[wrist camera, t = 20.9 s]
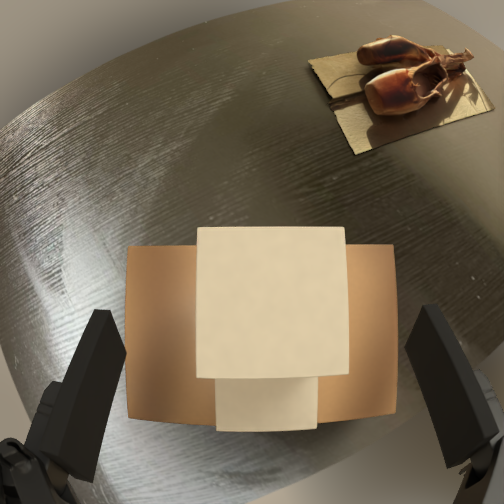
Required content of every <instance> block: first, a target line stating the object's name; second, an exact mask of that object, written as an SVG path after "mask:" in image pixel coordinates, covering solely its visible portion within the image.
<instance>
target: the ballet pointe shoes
mask: <svg viewBox="0 0 504 504" xmlns="http://www.w3.org/2000/svg"><path fill="white" fill-rule="evenodd" d="M472 58H474V56H473V55H472V53H471V52H470V51H469V50H468V49H467V48H465V52H464V53H455V54H453V53H452V52H451V51H450V50H449V49H447V50H446V49H445V48H444V47H443V46H441V45H440V46H434V45H433V46H421V45H418V44H416V43H414V42H412V41H409V40H407V39H405V38H403V37H399V36H392V35H390V36H389V37H387V38H385V39H384V38H378V39H376V41H374V42H372V43H369V44H366V45H363V46H361V47H360V48H359V49H358V51H357V52H352V53H348V54H347V53H345V54H341V55H340V54H339V55H335V56H330V57H327V56H326V57H325V58H320V59H319V58H316V59H315V60H309V63H311V65H313V66H312V68H313V69H315V70H314V71H315V73H317V74H318V77H320V78H319V79H320V80H321V81H322V83H323V84H324V86H326V89H327V91H328V92H329V94H330V95H332V97H333V99H332V100H331V101H330V102H329V103H327V104H329V105H330V108H331V110H332V111H335V112H334V113H335V114H336V116H337V119H338V120H337V121H338V123H339V125H340V126H341V128H342V129H343V130H342V131H343V132H344V134H345V136H346V137H347V140H348V141H349V144H350V146H351V148H353V151H354V153H355V155H356V154H357V153H361V152H364V151H367V150H369V149H370V150H371V149H373V148H377V147H379V146H381V145H384V144H386V143H389V142H393V141H394V140H399V139H401V138H404V137H406V136H408V135H409V136H410V134H412V135H413V134H416V133H418V132H421V131H425V130H429V129H431V128H433V127H435V126H440V125H444V124H445V123H446V122H447V123H450V122H452V121H455V120H457V119H462V118H465V117H466V116H467V117H469V116H472V115H476V114H479V113H481V112H483V113H484V112H485V111H486V112H487V111H489V110H492V109H495V107H494V105H493V104H492V103H491V101H490V99H489V98H488V97H487V95H486V94H485V92H484V91H483V90H482V89H481V88H480V86H479V85H478V84H477V83H476V81H475V80H474V78H473V77H472V76H471V74H470V73H469V72H468V71H467V69H466V68H465V65H464V63H463V62H466V61H469V60H471V59H472Z"/></svg>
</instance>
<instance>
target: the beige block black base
mask: <svg viewBox="0 0 504 504" xmlns="http://www.w3.org/2000/svg"><path fill="white" fill-rule="evenodd" d="M347 374H349V308H348V280H347V261H346V245H345V232H344V227H198V228H197V254H196V378H205V379H215V410H216V431H227V432H266V431H292V430H307V429H316V428H317V410H318V377H322V376H336V375H347Z"/></svg>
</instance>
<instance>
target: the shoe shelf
mask: <svg viewBox="0 0 504 504" xmlns="http://www.w3.org/2000/svg"><path fill="white" fill-rule="evenodd" d="M196 254H197V245H188V246H128V254H127V271H126V295H125V349H126V351H127V355H126V358H125V369H126V392H127V408H128V418H132V419H140V420H148V421H157V422H167V423H179V424H193V425H212V426H216V410H215V379H205V378H196ZM346 261H347V280H348V308H349V374H347V375H336V376H322V377H318V410H317V423H326V422H336V421H345V420H353V419H361V418H368V417H375V416H381V415H387V414H393V413H395V411H396V396H397V371H398V315H397V290H396V274H395V260H394V249H393V245H346Z"/></svg>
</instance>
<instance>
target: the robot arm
mask: <svg viewBox="0 0 504 504" xmlns="http://www.w3.org/2000/svg"><path fill="white" fill-rule="evenodd" d="M404 348H405V350H406V352H407V355H408V357H409V360H410V362H411V365H412V367H413V370H414V373H415V375H416V378H417V380H418V383H419V386H420V388H421V391H422V394H423V396H424V399H425V402H426V405H427V408H428V410H429V413H430V416H431V419H432V422H433V425H434V428H435V431H436V434H437V437H438V440H439V444H440V447H441V450H442V453H443V456H444V460H445V463H446V467H447V469H448V468H451V467H454V466H457V465H460V464H462V463H463V462H465V461H466V460H467V459H468V458H470V459H471V463H469V464H468V465H467V466H465V467H464V468H463V469H461V471H460V472H459V474H460V475H461V474H462V473H464V472H465V471H466V470H467V471H466V473H465V474H464V478H463V481H462V484H461V486H460V488H459V491H458V493H457V496H456V498H455V500H454V502H453V504H504V412H503V409H502V407H501V405H500V403H499V401H498V399H497V398H496V394H495V392H494V390H492V386H491V384H490V381H489V379H488V378H487V377H486V375H485V374H484V373H483V372H482V371H481V370H480V369H479V370H474V371H473V370H472V368H471V366H470V364H469V362H468V360H467V358H466V356H465V354H464V352H463V350H462V348H461V346H460V344H459V342H458V340H457V339H456V337H455V335H454V333H453V331H452V329H451V328H450V326H449V324H448V322H447V320H446V319H445V317H444V315H443V313H442V312H441V310H440V308H439V307H438V305H437V304H428V305H423V306H422V308H421V311H420V313H419V315H418V318H417V320H416V322H415V325H414V327H413V329H412V332H411V334H410V336H409V338H408V340H407V342H406V345H405V347H404ZM126 355H127V351H126V349H125V347H124V344H123V342H122V339H121V337H120V334H119V332H118V329H117V327H116V324H115V322H114V319H113V316H112V314H111V311H110V310H98V309H94V311H93V313H92V315H91V317H90V320H89V322H88V324H87V326H86V328H85V330H84V333H83V335H82V337H81V339H80V342H79V344H78V346H77V348H76V351H75V353H74V355H73V358H72V360H71V362H70V365H69V367H68V370H67V372H66V375H65V377H64V379H63V382H62V383H61V382H56V381H52V382H51V383H50V385H49V386H48V387H47V388H46V389H45V390H44V393H43V395H42V398H41V400H40V404H39V405H38V408H37V413H35V416H34V419H33V421H32V424H31V427H30V430H29V433H28V435H27V439H26V441H25V444H24V445H23V444H22V443H20V442H19V441H18V440H17V439H14V438H7V439H4V440H3V441H1V442H0V504H81V503H80V501H79V499H78V498H77V496H76V494H75V492H74V490H73V488H72V486H71V484H70V482H69V481H68V480H67V478H68V474H70V475H71V476H73V477H74V478H76V479H79V480H83V481H87V482H90V483H93V480H94V475H95V471H96V466H97V462H98V457H99V453H100V449H101V445H102V440H103V436H104V432H105V428H106V425H107V421H108V417H109V413H110V409H111V406H112V402H113V399H114V395H115V392H116V388H117V385H118V381H119V378H120V374H121V371H122V368H123V364H124V361H125V358H126Z"/></svg>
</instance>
